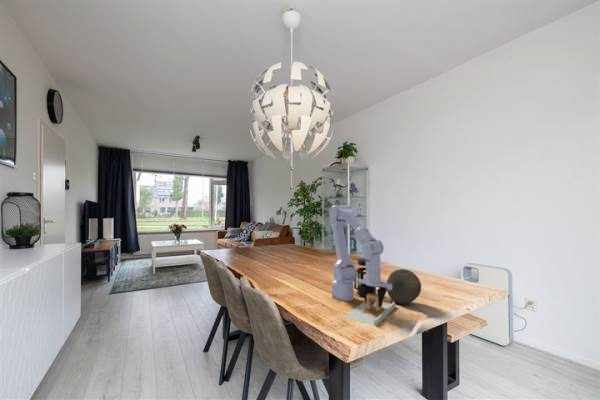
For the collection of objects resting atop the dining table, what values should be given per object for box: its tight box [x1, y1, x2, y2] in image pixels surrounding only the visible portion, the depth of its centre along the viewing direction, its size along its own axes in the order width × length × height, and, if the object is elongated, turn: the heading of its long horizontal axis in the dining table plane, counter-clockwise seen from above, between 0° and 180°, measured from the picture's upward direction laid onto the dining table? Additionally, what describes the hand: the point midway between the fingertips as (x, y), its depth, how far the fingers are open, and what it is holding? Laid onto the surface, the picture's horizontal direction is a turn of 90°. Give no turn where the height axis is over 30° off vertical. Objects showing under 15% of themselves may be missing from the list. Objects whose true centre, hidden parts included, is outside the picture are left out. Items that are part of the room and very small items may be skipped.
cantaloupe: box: [386, 268, 422, 305], centre depth 120 cm, size 14×14×15 cm
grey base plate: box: [343, 301, 396, 327], centre depth 108 cm, size 13×22×3 cm, turn 144°
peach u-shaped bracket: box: [366, 293, 382, 312], centre depth 108 cm, size 5×2×5 cm, turn 54°
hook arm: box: [369, 299, 376, 306], centre depth 109 cm, size 2×11×6 cm, turn 144°
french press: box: [353, 257, 377, 298], centre depth 133 cm, size 12×9×23 cm
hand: (373, 304), depth 108 cm, fingers closed on peach u-shaped bracket, 5 cm apart
